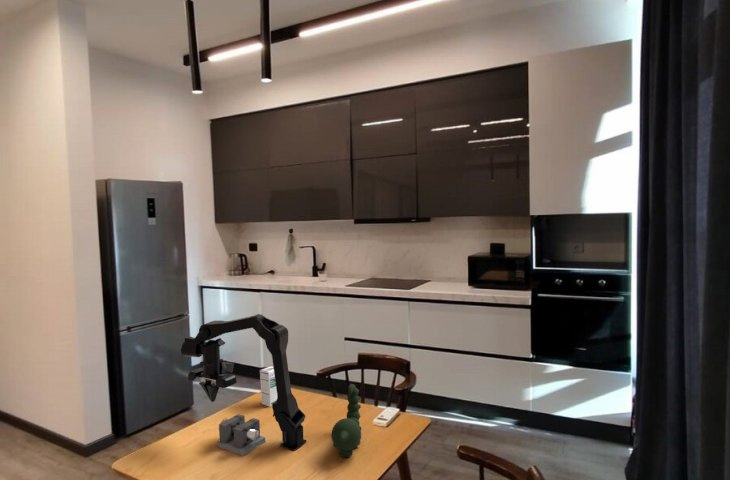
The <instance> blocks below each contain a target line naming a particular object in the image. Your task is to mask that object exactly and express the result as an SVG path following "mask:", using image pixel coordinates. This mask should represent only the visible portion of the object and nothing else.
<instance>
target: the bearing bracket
mask: <svg viewBox="0 0 730 480" xmlns="http://www.w3.org/2000/svg"><path fill="white" fill-rule="evenodd" d="M227 419H228V420H226V421H224V422H222V421H221V422H222V423H221V422H220V423H219V424H218V432H219V435H218V436H219V441H217V448H220V449H223V450H225V451H229V452H231V453H233V454H237V455H240V456H242V457H243V456H246V455H248V454H249V453H250V452H252V451H253V450H255V449H256V448H258V447H260V446H261V445H262V444H264V443H266V437H265V436H263V435H262V436H261V429H260V428H261V425H260V423H261V422H260V419H259V418H254V417H252V418H250V419H249V420H246V417H245V415H243V414H239V413H238V414H235V415H234V416H232V417H230V418H227ZM234 424H236V425H239V426H238V427H236V428H234V434H232V433H231V426H232V425H234ZM248 429H253V430H257V431H259V437H258V439H257V440H255V441H254V440H251V439H248V438H246V431H247V430H248Z"/></svg>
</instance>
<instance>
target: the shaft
mask: <svg viewBox="0 0 730 480" xmlns="http://www.w3.org/2000/svg"><path fill="white" fill-rule="evenodd" d="M228 419H229V418H224V419H222V420H221V422H220V423H222V422H224V421H226V420H228ZM238 426H239V425H236V424H234V425H232V426H231V433H232V434H234V428H236V427H238ZM258 437H259V431H257V430H253V429H248V430H247V431H246V438H248V439H251V440H254V441H255V440H257V439H258Z"/></svg>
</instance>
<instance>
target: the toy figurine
mask: <svg viewBox="0 0 730 480" xmlns="http://www.w3.org/2000/svg"><path fill="white" fill-rule="evenodd" d="M347 390H348V395H347V401H348V402H347V403H348V404H347V407H346V408H347V409H346V410H347V412H346V418H341V419H339V420H338V421H336V423H334V425H333V427H332V429H331V440H332V444H333V447H335V448H337V449H339V450H338V454H339V455H340V456H341V457H343V458H350V457H351V456H352V455H353V453H354V452H353V450H354V449H355V448H357V447H359V446H360V445H361V440H362V426H361V424H360V418H361V414H360V412H359V410H360V409H361V408H362V406H361V404H359V402H360V400H361V397H360V396H359V392H360V389H358V388H357V387H356V385H355V384H354V383H350V384H349V385H348V389H347ZM349 456H350V457H349Z"/></svg>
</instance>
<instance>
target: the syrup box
mask: <svg viewBox="0 0 730 480" xmlns="http://www.w3.org/2000/svg"><path fill="white" fill-rule="evenodd" d="M259 378H260V380H259V381H260V395H261V398H260V399H261V404H262V405H264V406H266V407H269V408H271V407H272V404H273V403H274V402H275V401H276V400H277V390H276V382H275V375H274V368H273V365H272V366H268V367H265V368H262V369H259Z"/></svg>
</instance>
